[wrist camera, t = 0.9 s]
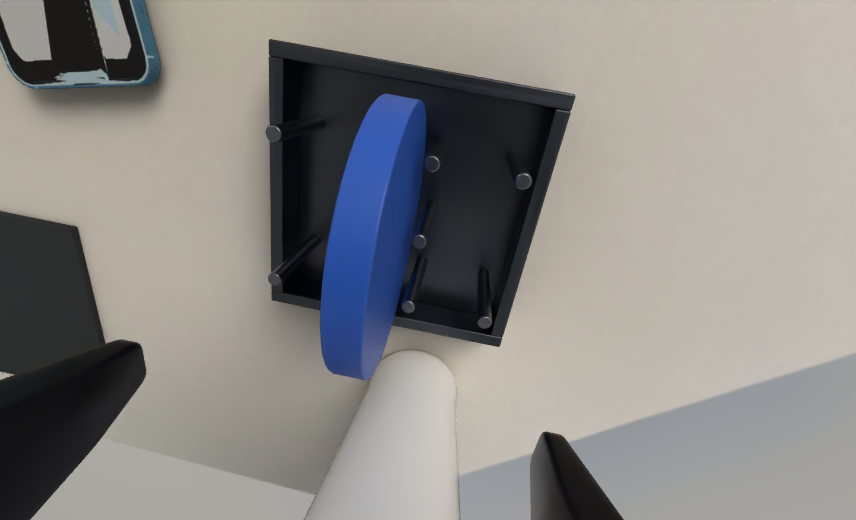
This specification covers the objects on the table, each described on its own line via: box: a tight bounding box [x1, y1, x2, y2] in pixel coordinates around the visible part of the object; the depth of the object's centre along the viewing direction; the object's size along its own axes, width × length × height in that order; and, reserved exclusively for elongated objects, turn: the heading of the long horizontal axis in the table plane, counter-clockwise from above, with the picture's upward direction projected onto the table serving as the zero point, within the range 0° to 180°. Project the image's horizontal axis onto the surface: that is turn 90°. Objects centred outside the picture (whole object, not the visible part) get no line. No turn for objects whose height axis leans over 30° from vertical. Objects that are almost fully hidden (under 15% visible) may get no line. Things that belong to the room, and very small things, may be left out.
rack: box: [266, 39, 575, 347], centre depth 17 cm, size 12×12×5 cm
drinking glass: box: [304, 350, 460, 520], centre depth 18 cm, size 7×7×15 cm
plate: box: [320, 94, 426, 380], centre depth 15 cm, size 1×10×10 cm, turn 170°
